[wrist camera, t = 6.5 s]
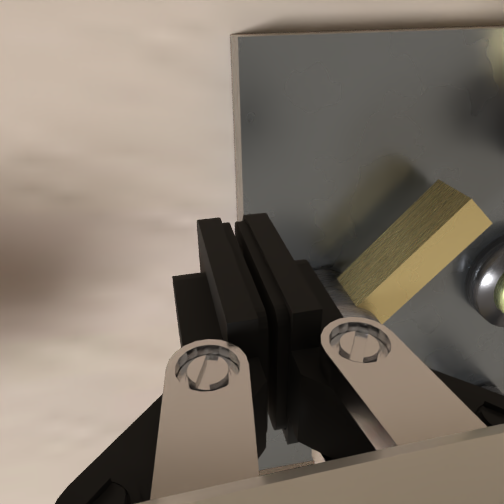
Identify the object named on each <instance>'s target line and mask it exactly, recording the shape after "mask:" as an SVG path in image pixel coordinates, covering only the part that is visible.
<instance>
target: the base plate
mask: <svg viewBox="0 0 504 504" xmlns="http://www.w3.org/2000/svg"><path fill="white" fill-rule="evenodd" d="M230 43H231V69H232V95H233V121H234V146H235V172H236V198H237V222H238V221H242V219H243V215H248V214H257V213H267V215H268V216H269V218H270V220H271V221H272V223H273V225H274V227H275V228H276V230H277V232H278V233H279V235H280V237H281V239H282V240H283V242H284V244H285V245H286V247H287V249H288V250H289V252H290V254H291V256H292V257H293V259H294V260H302V259H305V260H307V261H308V262H309V263H310V265H311V267H312V268H313V270H314V271H315V270H320V269H330V270H335V271H338V272H340V273H343V272H344V271H345V270H346V269H347V268H348V267H349V266H350V265H351V264H352V263H353V262H354V261H355V260H356V259H357V258H358V257H359V256H360V255H361V254H362V253H363V252H364V251H365V250H366V249H367V248H369V247H370V246H371V245H372V244H373V243H374V242H375V241H376V240H377V239H378V238H379V237H380V236H381V235H382V234H383V233H384V232H385V231H386V230H387V229H388V228H389V227H390V226H391V225H392V224H393V223H394V222H395V221H396V220H397V219H398V218H399V217H400V216H401V215H402V214H403V213H404V212H405V211H407V210H408V209H409V208H410V207H411V206H412V205H413V204H414V203H415V202H416V201H417V200H418V199H419V198H420V197H421V196H422V195H423V194H424V193H425V192H426V191H427V190H428V189H429V188H430V187H431V186H432V185H433V184H434V183H435V182H436V181H437V180H438V179H439V180H440V181H442V182H444V183H446V184H447V185H449V186H451V187H452V188H454V189H456V190H458V191H459V192H461V193H463V194H464V195H466V196H468V197H470V198H471V199H472V200H473V201H474V202H475V203H476V204H477V206H478V207H479V208H480V209H481V210H482V211H483V213H484V214H485V215H486V216H487V217H488V218H489V220H490V221H491V222H492V224H491V225H490V226H489V227H488V228H487V229H486V230H485V231H484V232H483V233H482V234H480V235H479V236H478V237H477V238H476V239H475V240H474V241H473V242H472V243H471V244H470V245H468V246H467V247H466V248H465V249H464V250H463V251H462V252H461V253H460V254H459V255H458V256H456V257H455V258H454V259H453V260H452V261H451V262H450V263H449V264H448V265H447V266H446V267H444V268H443V269H442V270H441V271H440V272H439V273H438V274H437V275H436V276H435V277H434V278H432V279H431V280H430V281H429V282H428V283H427V284H426V285H425V286H424V287H423V288H422V289H420V290H419V291H418V292H417V293H416V294H415V295H414V296H413V297H412V298H411V299H410V300H408V301H407V302H406V303H405V304H404V305H403V306H402V307H401V308H400V309H399V310H397V311H396V312H395V313H394V314H393V315H392V316H391V317H390V318H389V319H388V320H387V321H385V322H384V323H383V324H382V325H384V326H386V327H387V328H388V329H390V330H391V331H392V332H393V333H394V334H395V335H396V336H397V337H398V338H399V339H400V340H401V341H402V342H403V343H404V344H405V345H406V346H407V347H408V348H409V349H410V350H411V351H412V352H413V353H414V354H415V355H416V356H417V357H418V358H419V359H420V360H421V361H422V362H423V363H424V364H425V365H426V366H427V367H428V368H431V369H433V370H436V371H439V372H441V373H444V374H447V375H449V376H452V377H455V378H458V379H460V380H463V381H466V382H468V383H471V384H474V385H477V386H479V387H482V386H493V387H496V388H498V389H499V390H500V391H501V392H502V393H503V394H504V26H481V27H450V28H419V29H388V30H357V31H326V32H295V33H264V34H233V35H230ZM307 461H313V458H312V448H310V447H308V446H306V445H304V444H302V443H300V442H298V443H293V444H289V445H287V442H286V439H285V437H284V434H283V431H282V429H280V430H274V429H273V427H272V424H271V421H270V418H269V415H268V430H267V432H266V449H265V450H264V452H263V453H262V455H261V456H260V457H259V459H258V466H259V470H264V469H269V468H275V467H280V466H286V465H291V464H296V463H302V462H307Z"/></svg>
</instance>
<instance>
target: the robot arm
mask: <svg viewBox="0 0 504 504" xmlns="http://www.w3.org/2000/svg"><path fill="white" fill-rule="evenodd" d="M197 233H198V245H199V258H200V271H201V273H194V274H186V275H179V276H172V278H173V287H174V296H175V304H176V312H177V320H178V328H179V336H180V343H181V348H180V349H179V350H178V351H176V352H175V353H174V354H173V356H172V357H171V358H170V359H169V361H168V364H167V367H166V372H165V380H164V389H163V394H162V395H161V396H160V397H159V398H158V399H157V400H156V401H155V402H154V403H153V404H152V405H151V406H150V407H149V408H148V409H147V410H146V411H145V412H144V413H143V414H142V415H141V416H140V417H139V418H138V419H137V420H135V421H134V422H133V423H132V424H131V425H130V426H129V427H128V428H127V429H126V430H125V431H124V432H123V433H122V434H121V435H120V436H119V437H118V438H117V439H116V440H115V441H114V442H113V443H112V444H111V445H110V446H109V447H108V448H107V449H106V450H105V451H104V452H103V453H102V454H101V455H100V456H99V457H97V458H96V459H95V460H94V461H93V462H92V463H91V464H90V465H89V466H88V467H87V468H86V469H85V470H84V471H83V472H82V473H81V474H80V475H79V476H78V477H77V478H76V479H75V480H74V481H73V482H72V483H71V484H70V485H69V486H68V487H67V488H66V489H65V490H64V492H63V493H62V494H61V495H60V497H59V498H58V499H57V501H56V503H55V504H504V395H501V394H498V393H495V392H493V391H490V390H487V389H485V388H482V387H479V386H477V385H474V384H471V383H468V382H466V381H463V380H460V379H458V378H455V377H452V376H449V375H447V374H444V373H441V372H439V371H436V370H433V369H431V368H428V367H427V366H426V365H425V364H424V363H423V362H422V361H421V360H420V359H419V358H418V357H417V356H416V355H415V354H414V353H413V352H412V351H411V350H410V349H409V348H408V347H407V346H406V345H405V344H404V343H403V342H402V341H401V340H400V339H399V338H398V337H397V336H396V335H395V334H394V333H393V332H392V331H391V330H390V329H388V328H387V327H386V326H384V325H382V324H380V323H378V322H376V321H374V320H370V319H366V318H361V317H347V318H344V317H343V316H342V314H341V312H340V311H339V309H338V308H337V306H336V304H335V303H334V301H333V300H332V298H331V297H330V295H329V293H328V292H327V290H326V289H325V287H324V286H323V284H322V282H321V281H320V279H319V278H318V276H317V274H316V273H315V271H314V270H313V268H312V267H311V265H310V263H309V262H308V261H307V260H305V259H302V260H294V259H293V257H292V256H291V254H290V252H289V250H288V249H287V247H286V245H285V244H284V242H283V240H282V239H281V237H280V235H279V233H278V232H277V230H276V228H275V227H274V225H273V223H272V221H271V220H270V218H269V216H268V215H267V213H257V214H248V215H243V219H242V221H238V222H235V235H234V232H233V230H232V228H231V225H230V223H222V221H221V219H220V218H211V219H202V220H197ZM268 415H269V418H270V421H271V424H272V427H273V429H274V430H280V429H282V431H283V434H284V437H285V439H286V442H287V445H289V444H293V443H298V442H300V443H302V444H304V445H306V446H308V447H310V448H312V458H313V461H314V463H315V464H312V465H307V466H303V467H298V468H294V469H289V470H284V471H280V472H275V473H271V474H266V475H262V476H259V466H258V459H259V457H260V456H261V455H262V453H263V452H264V450H265V449H266V432H267V430H268Z"/></svg>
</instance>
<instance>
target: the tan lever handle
mask: <svg viewBox="0 0 504 504" xmlns="http://www.w3.org/2000/svg"><path fill="white" fill-rule="evenodd" d="M491 224H492V222H491V221H490V220H489V218H488V217H487V216H486V215H485V214H484V213H483V211H482V210H481V209H480V208H479V207H478V206H477V204H476V203H475V202H474V201H473V200H472V199H471V198H470V197H468V196H466V195H464V194H463V193H461V192H459V191H458V190H456V189H454V188H452V187H451V186H449V185H447V184H446V183H444V182H442V181H440V180H439V179H438V180H437V181H436V182H435V183H434V184H433V185H432V186H431V187H430V188H429V189H428V190H427V191H426V192H425V193H424V194H423V195H422V196H421V197H420V198H419V199H418V200H417V201H416V202H415V203H414V204H413V205H412V206H411V207H410V208H409V209H408V210H407V211H405V212H404V213H403V214H402V215H401V216H400V217H399V218H398V219H397V220H396V221H395V222H394V223H393V224H392V225H391V226H390V227H389V228H388V229H387V230H386V231H385V232H384V233H383V234H382V235H381V236H380V237H379V238H378V239H377V240H376V241H375V242H374V243H373V244H372V245H371V246H370V247H369V248H367V249H366V250H365V251H364V252H363V253H362V254H361V255H360V256H359V257H358V258H357V259H356V260H355V261H354V262H353V263H352V264H351V265H350V266H349V267H348V268H347V269H346V270H345V271H344V272H343V273H340V272H338V271H335V270H330V269H320V270H315V273H316V274H317V276H318V278H319V279H320V281H321V282H322V284H323V286H324V287H325V289H326V290H327V292H328V293H329V295H330V297H331V298H332V300H333V301H334V303H335V304H336V306H337V308H338V309H339V311H340V312H341V314H342V316H343V317H344V318H347V317H361V318H366V319H370V320H374V321H376V322H378V323H380V324H383V323H384V322H385V321H387V320H388V319H389V318H390V317H391V316H392V315H393V314H394V313H395V312H396V311H397V310H399V309H400V308H401V307H402V306H403V305H404V304H405V303H406V302H407V301H408V300H410V299H411V298H412V297H413V296H414V295H415V294H416V293H417V292H418V291H419V290H420V289H422V288H423V287H424V286H425V285H426V284H427V283H428V282H429V281H430V280H431V279H432V278H434V277H435V276H436V275H437V274H438V273H439V272H440V271H441V270H442V269H443V268H444V267H446V266H447V265H448V264H449V263H450V262H451V261H452V260H453V259H454V258H455V257H456V256H458V255H459V254H460V253H461V252H462V251H463V250H464V249H465V248H466V247H467V246H468V245H470V244H471V243H472V242H473V241H474V240H475V239H476V238H477V237H478V236H479V235H480V234H482V233H483V232H484V231H485V230H486V229H487V228H488V227H489V226H490V225H491Z"/></svg>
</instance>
